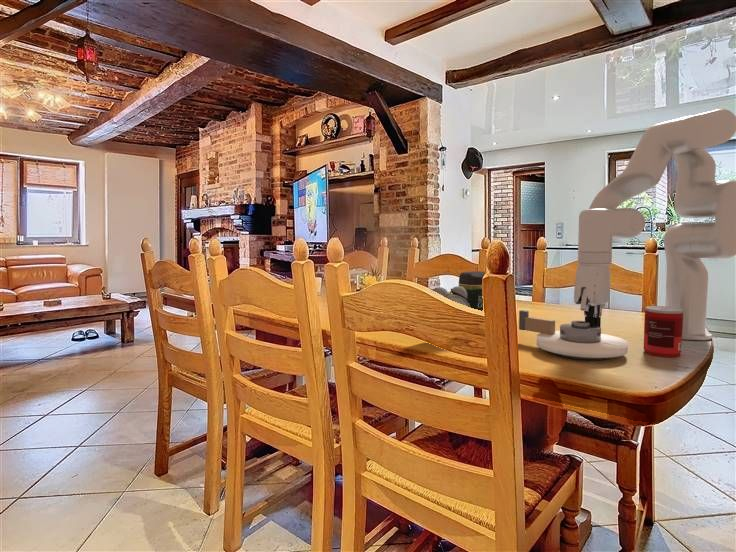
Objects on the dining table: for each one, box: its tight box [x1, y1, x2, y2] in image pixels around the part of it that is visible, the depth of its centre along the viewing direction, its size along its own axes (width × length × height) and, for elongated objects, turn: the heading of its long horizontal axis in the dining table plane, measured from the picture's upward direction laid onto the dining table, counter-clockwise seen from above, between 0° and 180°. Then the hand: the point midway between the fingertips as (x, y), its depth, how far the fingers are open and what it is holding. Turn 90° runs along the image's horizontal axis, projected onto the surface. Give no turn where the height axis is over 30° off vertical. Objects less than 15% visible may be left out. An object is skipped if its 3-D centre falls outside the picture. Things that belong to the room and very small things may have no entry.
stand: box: [550, 352, 613, 361], centre depth 110 cm, size 14×14×1 cm
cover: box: [559, 320, 602, 344], centre depth 109 cm, size 9×9×4 cm
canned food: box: [643, 305, 683, 358], centre depth 108 cm, size 8×8×11 cm
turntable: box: [518, 309, 629, 359], centre depth 112 cm, size 20×27×7 cm
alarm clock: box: [432, 285, 470, 307], centre depth 124 cm, size 12×7×15 cm, turn 110°
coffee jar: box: [458, 270, 486, 311], centre depth 131 cm, size 10×8×19 cm
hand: (592, 332), depth 113 cm, fingers closed
